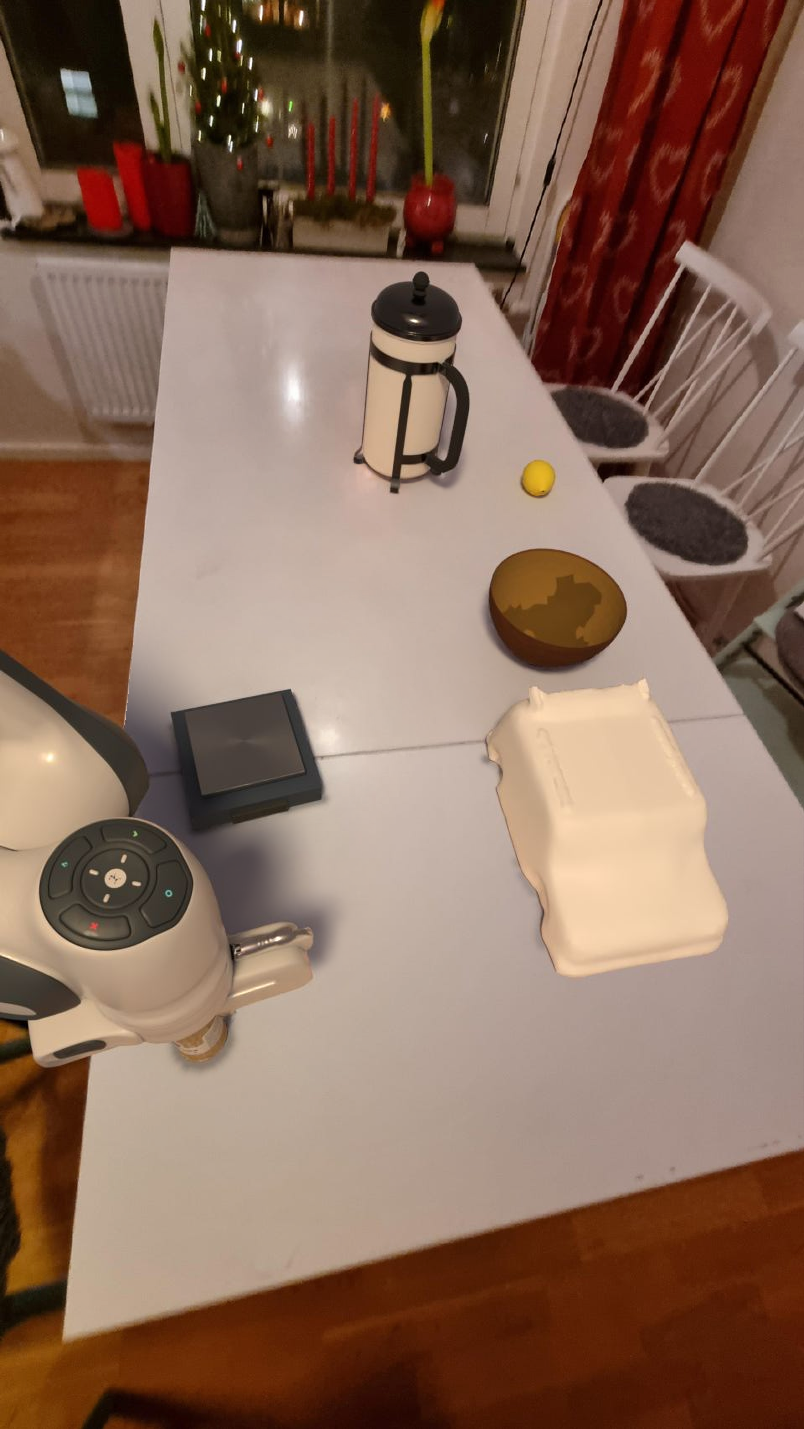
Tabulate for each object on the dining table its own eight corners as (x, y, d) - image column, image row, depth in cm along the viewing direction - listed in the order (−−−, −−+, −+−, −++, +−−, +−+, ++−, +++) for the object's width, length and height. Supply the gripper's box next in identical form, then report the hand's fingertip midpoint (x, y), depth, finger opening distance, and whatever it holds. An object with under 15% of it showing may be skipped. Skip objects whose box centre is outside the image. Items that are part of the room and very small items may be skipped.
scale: (196, 836, 74) (192, 823, 72) (174, 727, 82) (170, 712, 79) (323, 805, 78) (323, 791, 76) (291, 703, 86) (290, 688, 83)
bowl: (490, 701, 90) (508, 650, 82) (463, 602, 100) (477, 548, 92) (617, 694, 93) (647, 645, 85) (578, 599, 103) (602, 547, 95)
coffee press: (343, 489, 112) (354, 288, 88) (362, 434, 121) (377, 239, 97) (449, 510, 112) (489, 315, 87) (459, 454, 121) (499, 264, 97)
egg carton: (616, 723, 90) (659, 655, 79) (721, 954, 73) (793, 909, 62) (475, 738, 86) (500, 669, 75) (552, 986, 69) (598, 943, 58)
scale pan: (202, 798, 73) (201, 795, 72) (185, 715, 78) (184, 712, 78) (305, 774, 76) (305, 771, 75) (281, 696, 82) (281, 692, 81)
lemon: (515, 478, 119) (523, 450, 114) (546, 480, 120) (555, 452, 115) (522, 504, 115) (530, 476, 110) (553, 506, 115) (563, 478, 111)
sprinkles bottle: (166, 1050, 62) (135, 1015, 51) (194, 1000, 65) (170, 957, 54) (211, 1072, 61) (189, 1042, 50) (237, 1021, 64) (222, 982, 53)
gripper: (302, 885, 52) (302, 943, 63) (2, 969, 46) (61, 1017, 57) (325, 967, 49) (321, 1013, 60) (5, 1068, 43) (67, 1099, 54)
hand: (192, 1016), depth 59 cm, fingers closed on sprinkles bottle, 4 cm apart
